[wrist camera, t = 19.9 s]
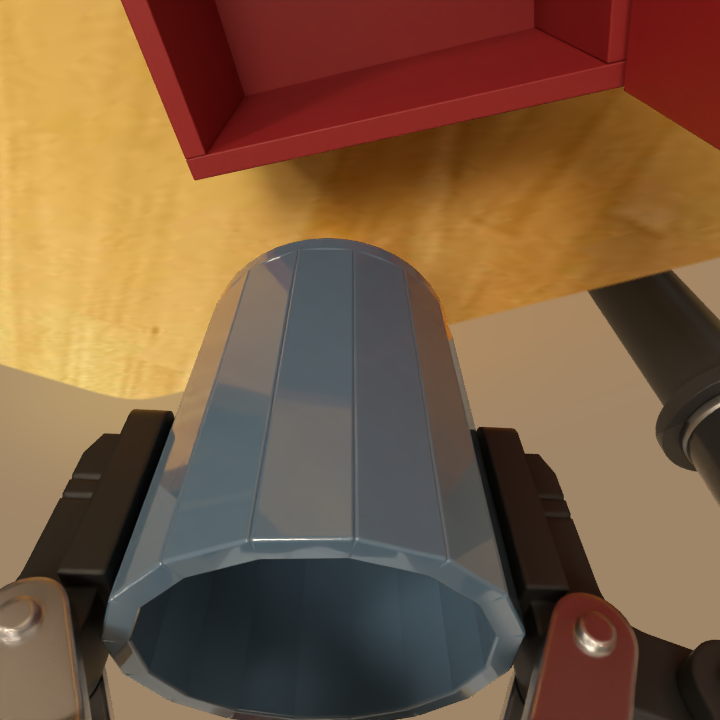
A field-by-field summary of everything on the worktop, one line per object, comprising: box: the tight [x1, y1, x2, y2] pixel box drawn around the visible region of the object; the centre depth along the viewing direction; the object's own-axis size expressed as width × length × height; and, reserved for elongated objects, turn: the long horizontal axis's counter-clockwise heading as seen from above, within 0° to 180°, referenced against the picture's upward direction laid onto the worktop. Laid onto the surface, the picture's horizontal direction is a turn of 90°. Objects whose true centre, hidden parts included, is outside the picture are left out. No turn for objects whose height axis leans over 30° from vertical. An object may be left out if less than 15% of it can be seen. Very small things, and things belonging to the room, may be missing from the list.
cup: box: [100, 238, 526, 720], centre depth 11 cm, size 6×6×8 cm
